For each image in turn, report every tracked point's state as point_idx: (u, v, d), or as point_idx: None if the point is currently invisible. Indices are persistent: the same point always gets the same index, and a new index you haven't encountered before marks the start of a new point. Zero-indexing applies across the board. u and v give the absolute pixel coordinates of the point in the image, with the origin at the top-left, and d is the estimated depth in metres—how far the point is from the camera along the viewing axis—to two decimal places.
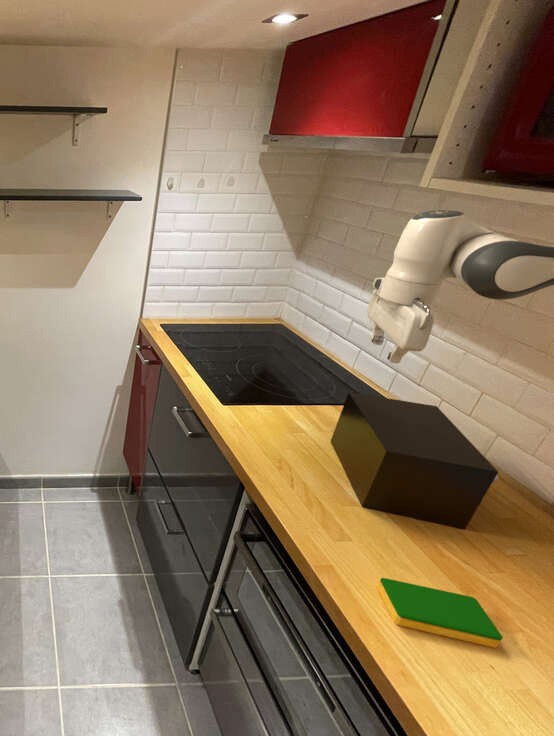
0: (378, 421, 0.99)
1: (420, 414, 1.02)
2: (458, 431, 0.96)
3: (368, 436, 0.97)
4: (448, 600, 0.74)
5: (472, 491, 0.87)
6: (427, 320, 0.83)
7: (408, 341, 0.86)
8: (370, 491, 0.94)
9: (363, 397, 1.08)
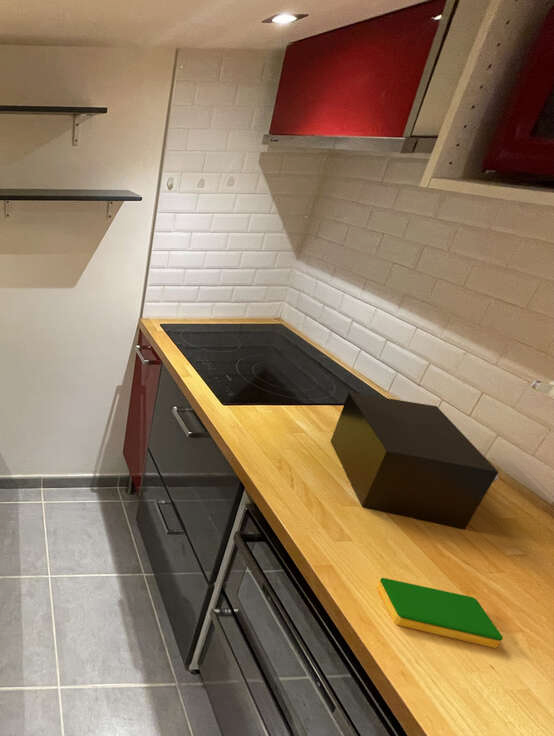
0: (378, 421, 0.99)
1: (420, 414, 1.02)
2: (458, 431, 0.96)
3: (368, 436, 0.97)
4: (448, 600, 0.74)
5: (472, 491, 0.87)
6: None
7: None
8: (370, 491, 0.93)
9: (363, 397, 1.08)
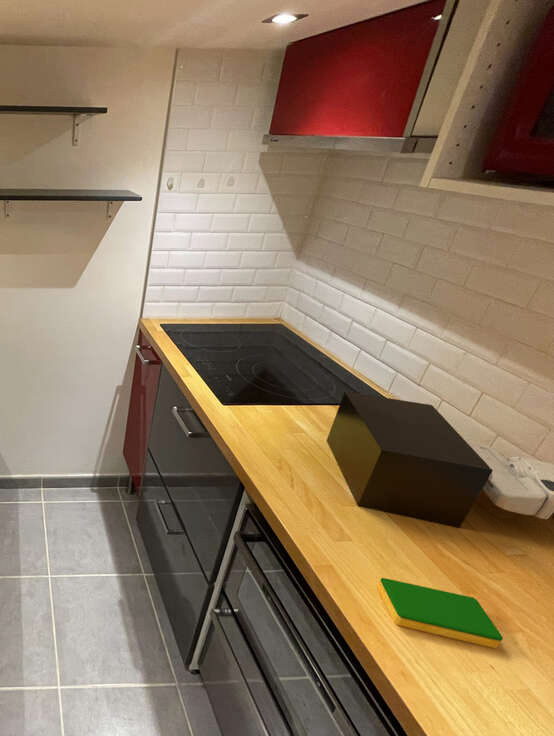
0: (373, 420, 0.99)
1: (415, 413, 1.02)
2: (453, 430, 0.96)
3: (363, 435, 0.98)
4: (448, 600, 0.74)
5: (467, 490, 0.87)
6: None
7: None
8: (366, 489, 0.94)
9: (359, 396, 1.08)
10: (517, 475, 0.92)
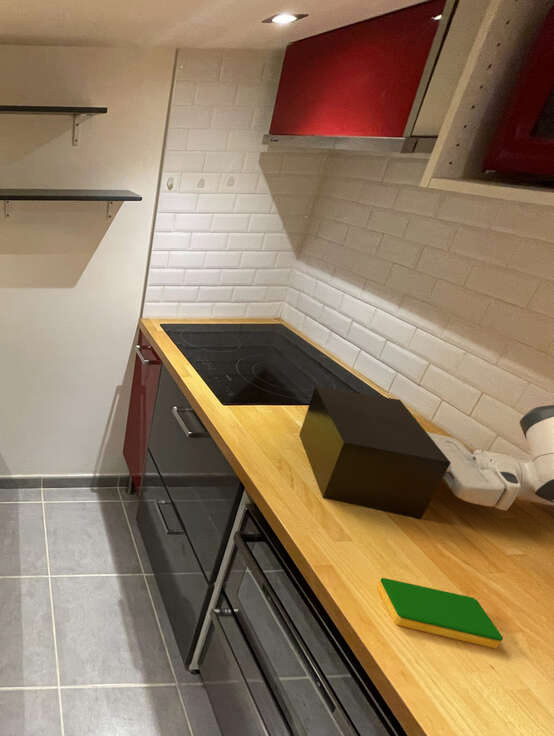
0: (340, 414, 1.01)
1: (382, 407, 1.04)
2: (417, 424, 0.98)
3: (329, 429, 1.00)
4: (448, 600, 0.74)
5: (426, 482, 0.89)
6: None
7: None
8: (330, 481, 0.96)
9: (329, 391, 1.10)
10: (479, 467, 0.94)
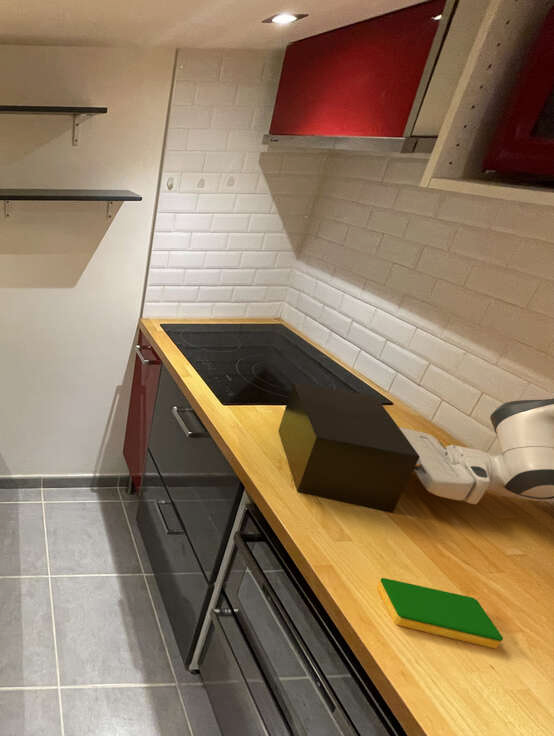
0: (315, 410, 1.02)
1: (357, 403, 1.05)
2: (390, 419, 1.00)
3: (304, 424, 1.01)
4: (448, 600, 0.74)
5: (397, 476, 0.91)
6: None
7: None
8: (304, 476, 0.97)
9: (306, 387, 1.12)
10: (450, 462, 0.95)
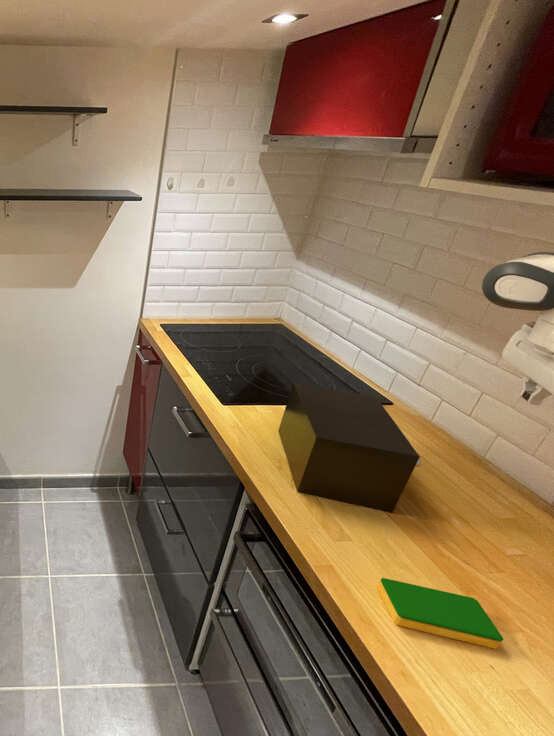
0: (315, 410, 1.02)
1: (357, 403, 1.05)
2: (390, 419, 1.00)
3: (304, 424, 1.01)
4: (449, 601, 0.74)
5: (397, 476, 0.91)
6: None
7: None
8: (304, 476, 0.97)
9: (306, 387, 1.12)
10: (551, 357, 0.83)
